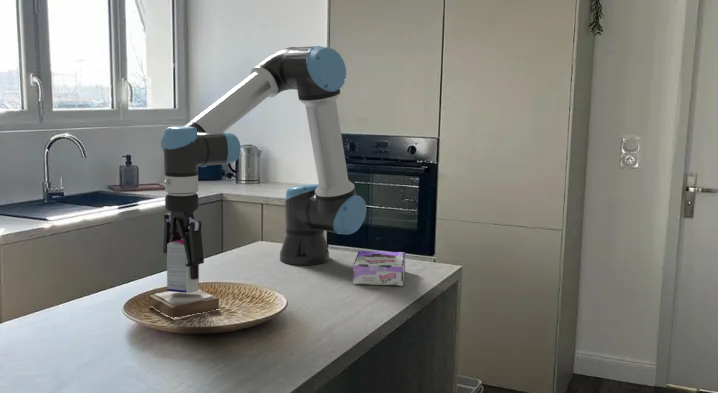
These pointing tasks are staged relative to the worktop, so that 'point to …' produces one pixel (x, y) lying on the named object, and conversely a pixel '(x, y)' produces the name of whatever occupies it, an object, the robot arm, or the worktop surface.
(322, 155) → the robot arm
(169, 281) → the supplement box
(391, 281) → the candy box
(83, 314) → the worktop surface
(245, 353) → the worktop surface
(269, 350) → the worktop surface
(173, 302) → the stand
